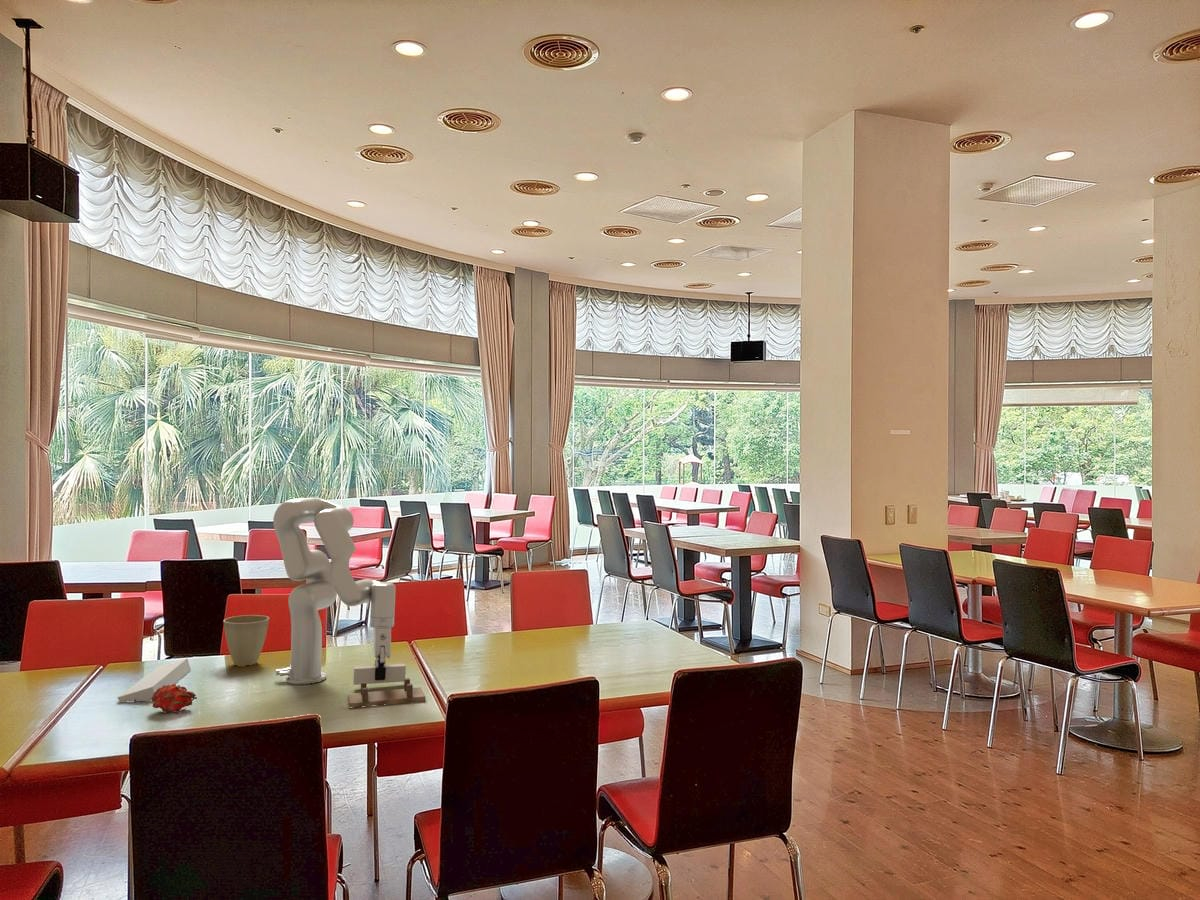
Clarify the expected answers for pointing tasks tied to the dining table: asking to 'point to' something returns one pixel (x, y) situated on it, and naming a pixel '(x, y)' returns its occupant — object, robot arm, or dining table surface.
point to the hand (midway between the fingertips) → (379, 677)
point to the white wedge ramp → (156, 681)
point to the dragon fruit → (172, 698)
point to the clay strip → (368, 674)
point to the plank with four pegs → (386, 696)
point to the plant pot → (245, 637)
